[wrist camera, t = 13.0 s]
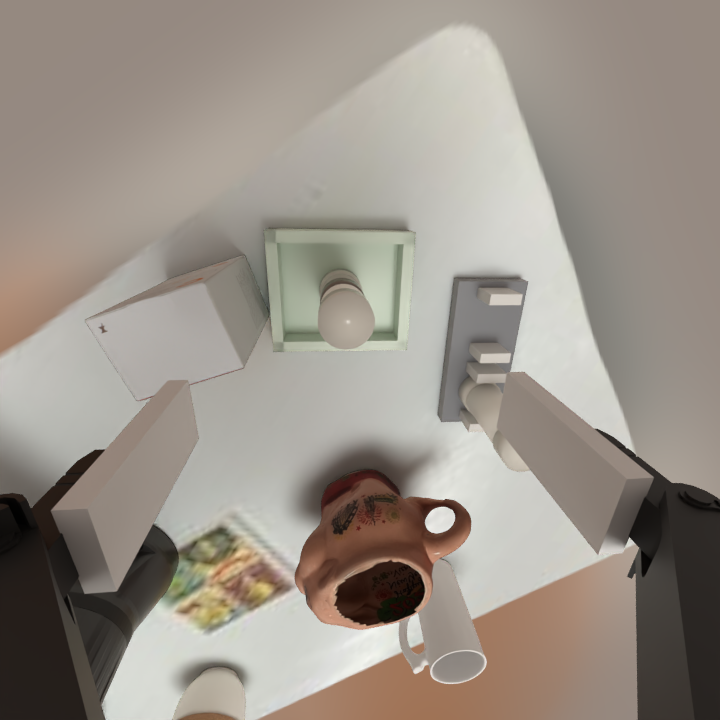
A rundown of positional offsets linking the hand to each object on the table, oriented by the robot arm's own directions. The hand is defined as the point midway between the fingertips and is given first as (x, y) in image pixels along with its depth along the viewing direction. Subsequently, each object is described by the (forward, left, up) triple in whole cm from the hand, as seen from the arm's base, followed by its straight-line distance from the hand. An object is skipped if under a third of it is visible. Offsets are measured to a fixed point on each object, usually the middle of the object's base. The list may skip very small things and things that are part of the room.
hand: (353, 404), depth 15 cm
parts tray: (0, 0, -23) cm, 23 cm away
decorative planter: (+4, -26, -23) cm, 35 cm away
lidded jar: (-20, -64, -23) cm, 71 cm away
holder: (+15, -7, -23) cm, 28 cm away
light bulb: (0, 0, -22) cm, 22 cm away
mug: (+12, -43, -23) cm, 50 cm away
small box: (-11, -1, -23) cm, 26 cm away
